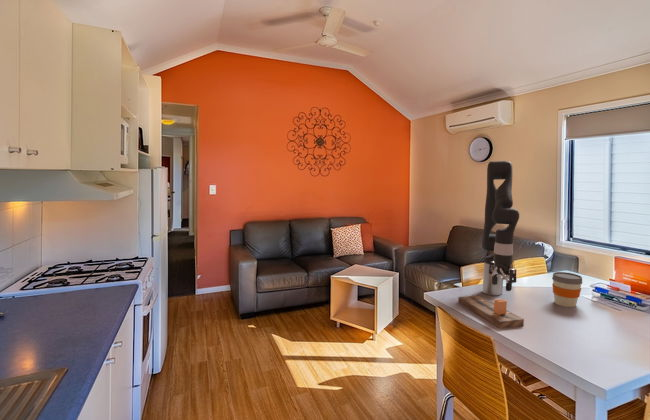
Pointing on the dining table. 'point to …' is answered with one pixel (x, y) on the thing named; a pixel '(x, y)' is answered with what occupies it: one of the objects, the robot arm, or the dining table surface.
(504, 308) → the fader tab
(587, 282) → the dining table surface
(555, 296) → the reusable coffee cup
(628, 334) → the dining table surface
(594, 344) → the dining table surface
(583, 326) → the dining table surface
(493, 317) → the brown wooden board
